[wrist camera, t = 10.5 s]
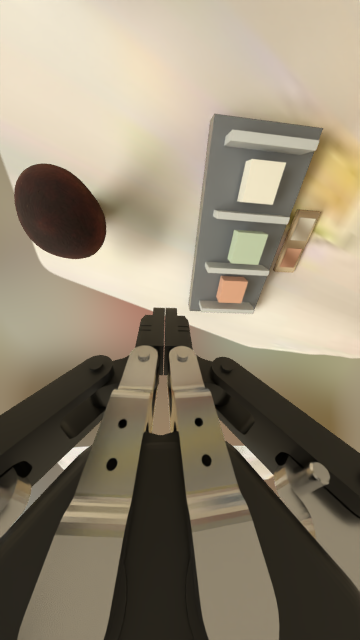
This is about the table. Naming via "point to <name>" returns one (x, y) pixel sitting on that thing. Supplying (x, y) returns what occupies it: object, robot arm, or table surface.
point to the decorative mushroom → (59, 212)
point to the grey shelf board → (244, 203)
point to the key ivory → (260, 181)
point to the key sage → (247, 247)
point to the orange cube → (231, 289)
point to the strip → (296, 240)
